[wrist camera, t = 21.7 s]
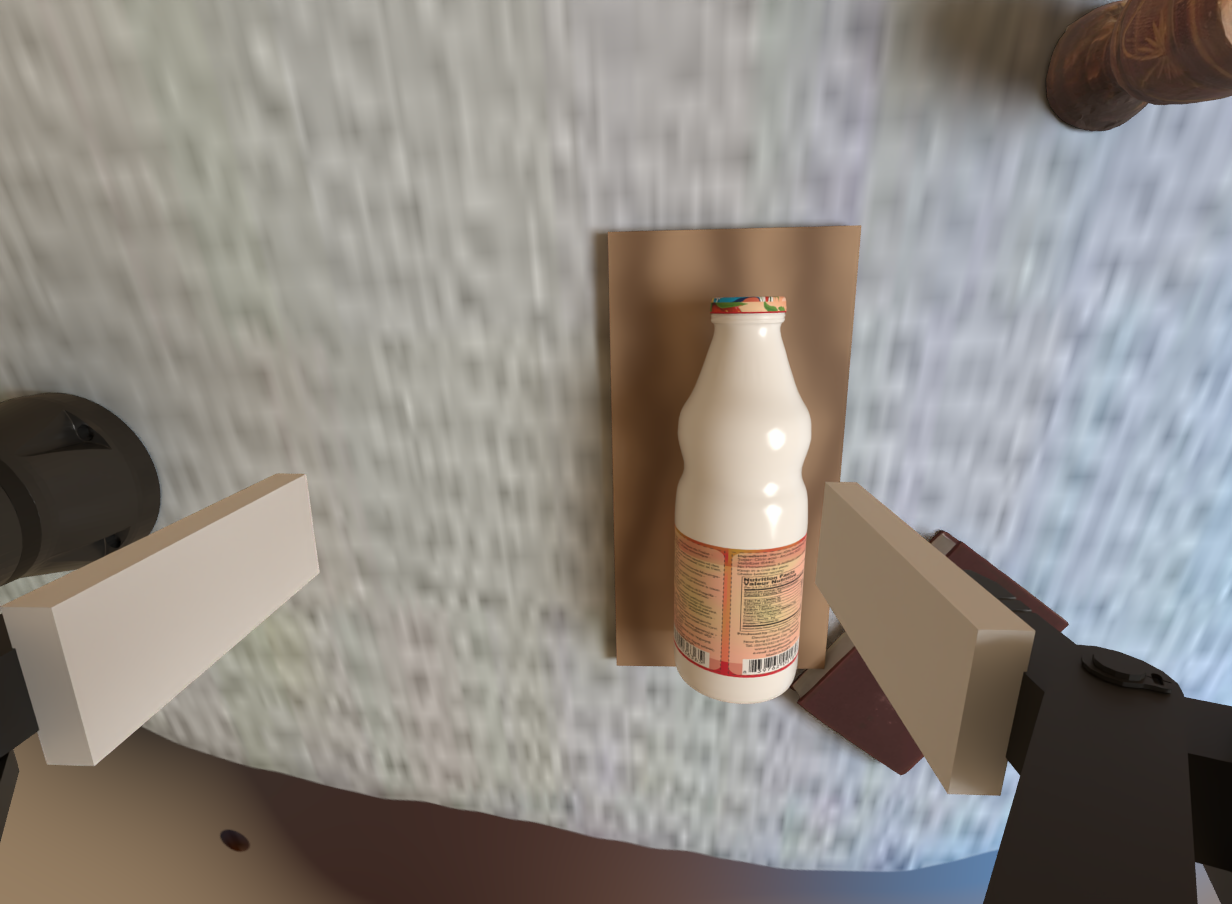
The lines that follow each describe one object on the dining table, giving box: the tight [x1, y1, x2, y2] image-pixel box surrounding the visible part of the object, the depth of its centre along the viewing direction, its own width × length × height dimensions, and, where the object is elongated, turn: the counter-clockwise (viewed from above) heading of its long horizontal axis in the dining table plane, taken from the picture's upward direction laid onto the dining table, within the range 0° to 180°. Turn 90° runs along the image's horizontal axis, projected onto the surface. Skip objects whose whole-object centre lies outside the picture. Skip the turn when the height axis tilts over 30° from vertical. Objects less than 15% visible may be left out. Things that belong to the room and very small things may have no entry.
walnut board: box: [608, 226, 861, 669], centre depth 47 cm, size 18×36×1 cm, turn 1°
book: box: [790, 530, 1069, 775], centre depth 49 cm, size 12×19×3 cm, turn 144°
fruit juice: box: [674, 296, 811, 704], centre depth 42 cm, size 9×9×28 cm
